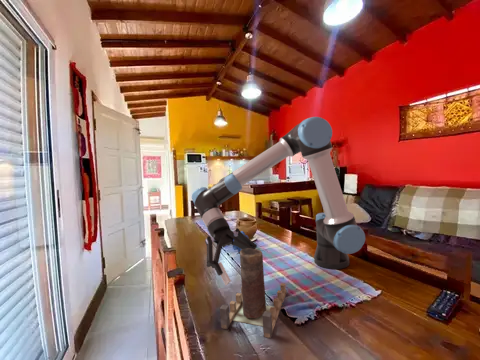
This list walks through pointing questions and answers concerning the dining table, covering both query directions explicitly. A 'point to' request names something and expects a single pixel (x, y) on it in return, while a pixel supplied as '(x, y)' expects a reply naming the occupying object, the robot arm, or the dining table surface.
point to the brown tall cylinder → (252, 283)
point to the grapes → (238, 247)
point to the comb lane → (265, 320)
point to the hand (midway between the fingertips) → (245, 275)
